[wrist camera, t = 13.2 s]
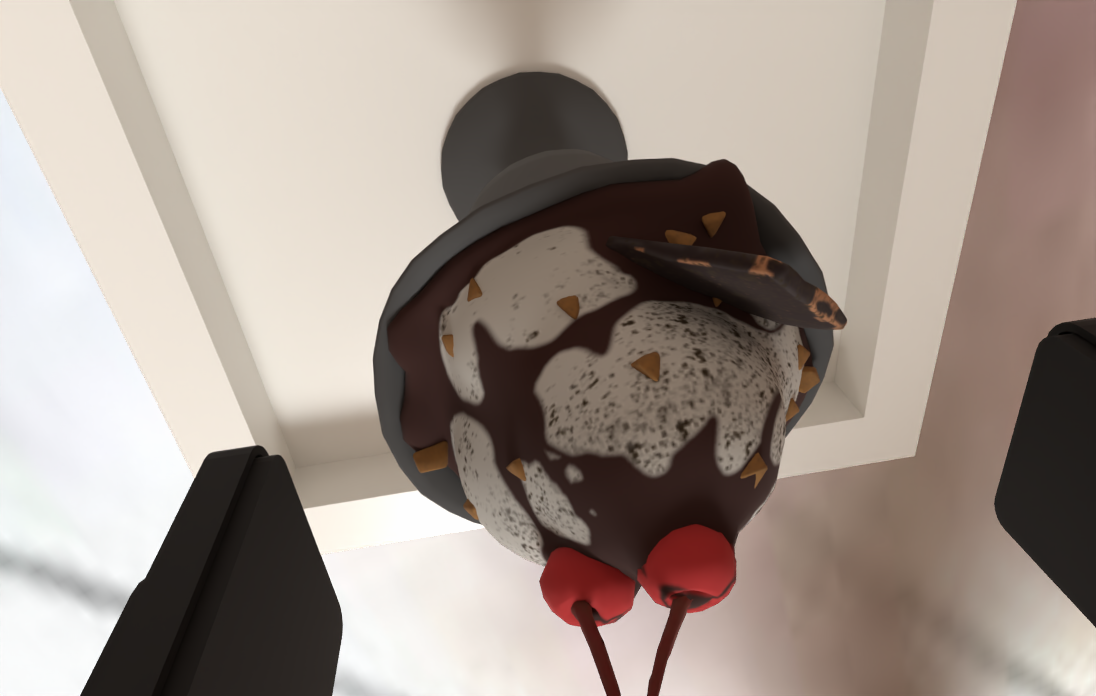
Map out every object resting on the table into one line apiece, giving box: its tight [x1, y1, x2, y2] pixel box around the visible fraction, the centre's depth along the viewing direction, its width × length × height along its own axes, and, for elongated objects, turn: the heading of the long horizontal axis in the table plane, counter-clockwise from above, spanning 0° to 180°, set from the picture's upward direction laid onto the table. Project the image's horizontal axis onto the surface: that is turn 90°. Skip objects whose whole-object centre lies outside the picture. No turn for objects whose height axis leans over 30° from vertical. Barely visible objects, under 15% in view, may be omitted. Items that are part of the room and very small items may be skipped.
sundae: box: [373, 72, 847, 696], centre depth 12 cm, size 7×7×15 cm
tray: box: [0, 0, 1017, 555], centre depth 18 cm, size 22×22×3 cm
